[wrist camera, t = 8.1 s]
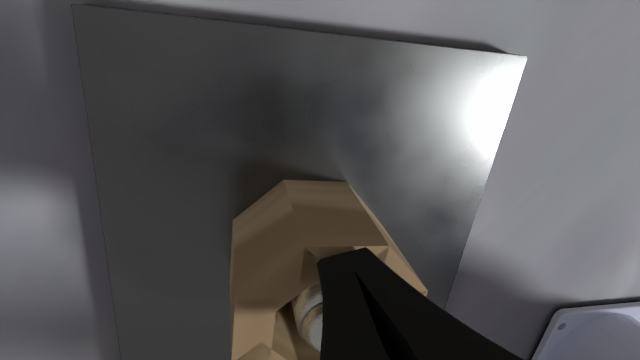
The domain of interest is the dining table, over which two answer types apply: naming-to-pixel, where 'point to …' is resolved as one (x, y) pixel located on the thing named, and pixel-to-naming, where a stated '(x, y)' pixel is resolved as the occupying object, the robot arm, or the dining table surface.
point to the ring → (295, 261)
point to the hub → (271, 154)
